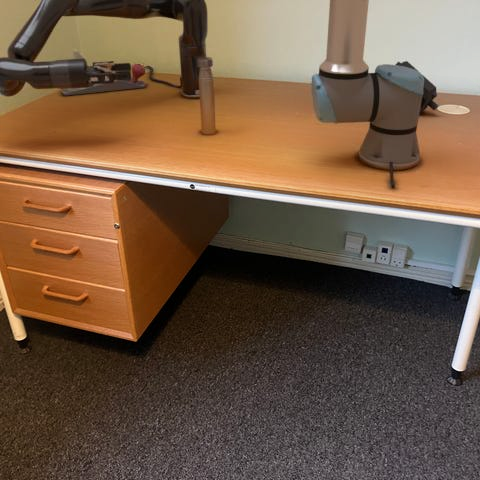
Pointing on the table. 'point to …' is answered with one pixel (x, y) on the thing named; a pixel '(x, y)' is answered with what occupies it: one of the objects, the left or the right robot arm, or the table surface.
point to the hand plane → (117, 85)
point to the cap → (205, 62)
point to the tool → (424, 90)
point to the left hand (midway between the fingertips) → (130, 70)
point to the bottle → (207, 101)
